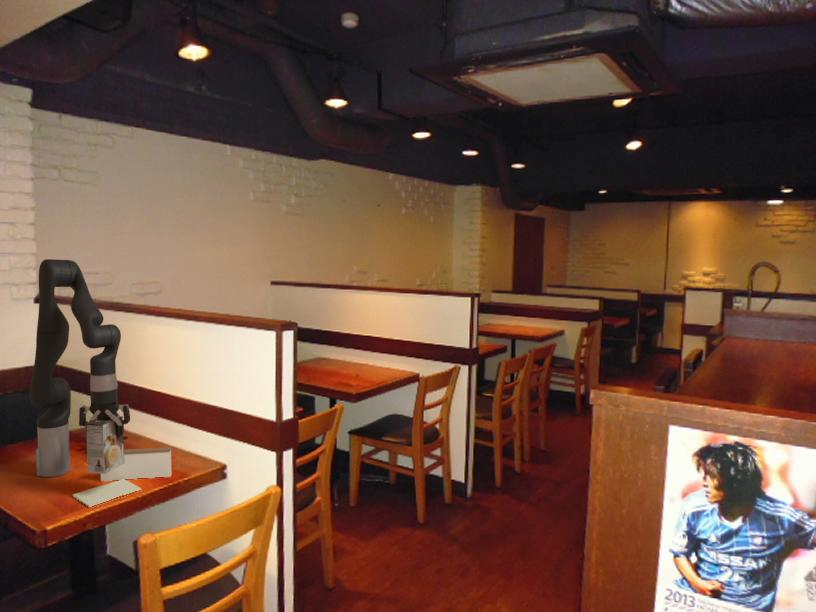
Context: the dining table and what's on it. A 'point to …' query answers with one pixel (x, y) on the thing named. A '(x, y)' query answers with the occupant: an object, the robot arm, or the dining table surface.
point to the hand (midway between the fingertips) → (105, 437)
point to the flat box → (142, 464)
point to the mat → (105, 492)
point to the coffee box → (104, 446)
